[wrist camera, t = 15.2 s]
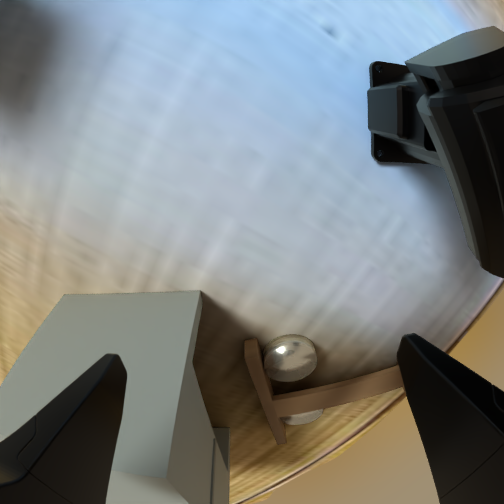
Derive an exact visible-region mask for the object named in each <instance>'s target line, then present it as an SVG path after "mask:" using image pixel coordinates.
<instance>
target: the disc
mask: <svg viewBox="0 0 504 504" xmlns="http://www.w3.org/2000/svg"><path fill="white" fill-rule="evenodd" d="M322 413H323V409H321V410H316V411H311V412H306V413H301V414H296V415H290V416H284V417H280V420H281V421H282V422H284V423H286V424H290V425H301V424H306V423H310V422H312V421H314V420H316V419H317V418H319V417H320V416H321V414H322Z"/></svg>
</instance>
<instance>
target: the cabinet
mask: <svg viewBox="0 0 504 504" xmlns="http://www.w3.org/2000/svg"><path fill="white" fill-rule="evenodd" d="M202 305H203V303H202V297H201V292H200V291H179V292H154V293H122V294H64V295H63V297H62V298H61V299H60V301H59V302H58V303H57V304H56V306H55V307H54V308H53V310H52V311H51V312H50V314H49V315H48V316H47V318H46V319H45V320H44V322H43V323H42V324H41V326H40V327H39V329H38V330H37V331H36V333H35V334H34V336H33V337H32V338H31V340H30V341H29V343H28V344H27V346H26V347H25V348H24V350H23V351H22V353H21V354H20V356H19V357H18V359H17V360H16V362H15V364H14V365H13V367H12V368H11V370H10V371H9V373H8V374H7V376H6V378H5V379H4V381H3V383H2V384H1V386H0V442H1V441H2V440H4V439H5V438H7V437H8V436H9V435H11V434H12V433H13V432H15V431H16V430H17V429H19V428H20V427H21V426H22V425H23V424H25V423H26V422H27V421H28V420H29V419H30V418H32V417H33V416H34V415H36V413H37V412H39V411H40V410H41V409H42V408H43V407H44V406H45V405H47V404H48V403H49V402H50V401H51V400H52V399H54V398H55V397H56V396H57V395H58V394H59V393H60V392H62V391H63V390H64V389H65V388H66V387H67V386H69V385H70V384H71V383H72V382H73V381H74V380H76V379H77V378H78V377H79V376H80V375H81V374H83V373H84V372H85V371H86V370H87V369H88V368H90V367H91V366H92V365H93V364H94V363H95V362H97V361H98V360H99V359H100V358H101V357H103V356H104V355H105V354H107V353H115V354H118V355H119V356H120V357H121V360H122V362H123V364H124V366H125V368H126V371H127V384H126V392H125V400H124V408H123V416H122V421H121V425H120V430H119V434H118V439H117V444H116V449H115V454H114V459H113V464H112V469H111V474H110V480H109V486H108V492H107V498H106V504H229V477H230V429H229V428H212V426H211V423H210V420H209V417H208V414H207V411H206V408H205V404H204V401H203V398H202V395H201V391H200V388H199V385H198V381H197V378H196V374H195V371H194V367H193V364H192V361H193V355H194V350H195V344H196V338H197V333H198V327H199V322H200V316H201V311H202Z"/></svg>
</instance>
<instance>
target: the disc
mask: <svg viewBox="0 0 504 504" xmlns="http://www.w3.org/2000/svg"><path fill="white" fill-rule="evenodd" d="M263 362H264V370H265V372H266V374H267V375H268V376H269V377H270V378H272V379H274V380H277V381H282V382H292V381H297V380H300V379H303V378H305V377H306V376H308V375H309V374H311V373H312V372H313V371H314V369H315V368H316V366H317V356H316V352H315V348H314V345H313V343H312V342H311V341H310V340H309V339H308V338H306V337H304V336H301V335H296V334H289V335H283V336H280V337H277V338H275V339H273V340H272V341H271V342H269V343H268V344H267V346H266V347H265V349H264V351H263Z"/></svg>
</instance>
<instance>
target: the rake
mask: <svg viewBox="0 0 504 504" xmlns="http://www.w3.org/2000/svg"><path fill="white" fill-rule="evenodd" d="M245 361H246V364H247V367H248V370H249V372H250V375H251V378H252V380H253V383H254V386H255V388H256V391H257V394H258V396H259V399H260V401H261V404H262V407H263V409H264V412H265V414H266V417H267V419H268V422H269V425H270V427H271V430H272V432H273V435H274V437H275V440H276V442H277V444H278V445H279V444H285V443H286V433H285V427H284V423H283V422H282V421H281V420H280V417H284V416H290V415H296V414H301V413H306V412H311V411H316V410H321V409H325V408H329V407H334V406H338V405H342V404H346V403H350V402H354V401H357V400H361V399H365V398H368V397H372V396H375V395H378V394H382V393H385V392H388V391H391V390H394V389H397V388H400V387H403V389H404V391H405V388H404V384H403V380H402V376H401V372H400V369H399V365H398V361H397V365H396V366H394V367H391V368H388V369H385V370H381V371H378V372H375V373H371V374H368V375H364V376H360V377H357V378H353V379H349V380H345V381H341V382H337V383H333V384H329V385H325V386H320V387H316V388H311V389H306V390H301V391H296V392H291V393H285V394H280V395H274V392H273V389H272V386H271V382H270V379H269V376H268V375H267V374H266V372H265V370H264V362H263V357H262V353H261V350H260V347H259V344H258V340H257V338H255V339H249V340H245ZM405 393H406V392H405Z"/></svg>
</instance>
